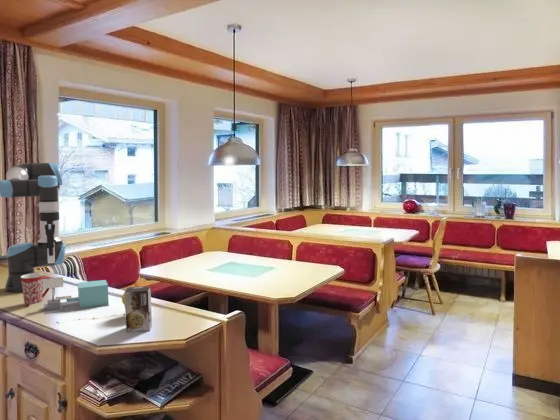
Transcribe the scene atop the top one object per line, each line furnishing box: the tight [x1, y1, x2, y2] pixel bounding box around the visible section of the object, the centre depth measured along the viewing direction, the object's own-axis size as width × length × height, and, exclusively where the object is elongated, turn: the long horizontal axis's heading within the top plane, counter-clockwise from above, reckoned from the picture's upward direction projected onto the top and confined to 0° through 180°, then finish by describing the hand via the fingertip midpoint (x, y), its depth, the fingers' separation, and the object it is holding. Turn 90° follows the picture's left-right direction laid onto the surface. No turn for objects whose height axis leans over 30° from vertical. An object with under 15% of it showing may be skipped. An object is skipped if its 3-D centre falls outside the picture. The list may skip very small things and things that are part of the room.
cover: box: [65, 279, 109, 308], centre depth 205 cm, size 10×17×9 cm, turn 116°
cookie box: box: [124, 286, 153, 333], centre depth 177 cm, size 9×6×16 cm
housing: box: [43, 298, 110, 315], centre depth 203 cm, size 15×26×6 cm, turn 116°
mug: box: [21, 272, 51, 307], centre depth 209 cm, size 13×9×14 cm
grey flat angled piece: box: [42, 276, 72, 301], centre depth 199 cm, size 2×11×10 cm, turn 116°
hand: (51, 260), depth 197 cm, fingers open, 13 cm apart
